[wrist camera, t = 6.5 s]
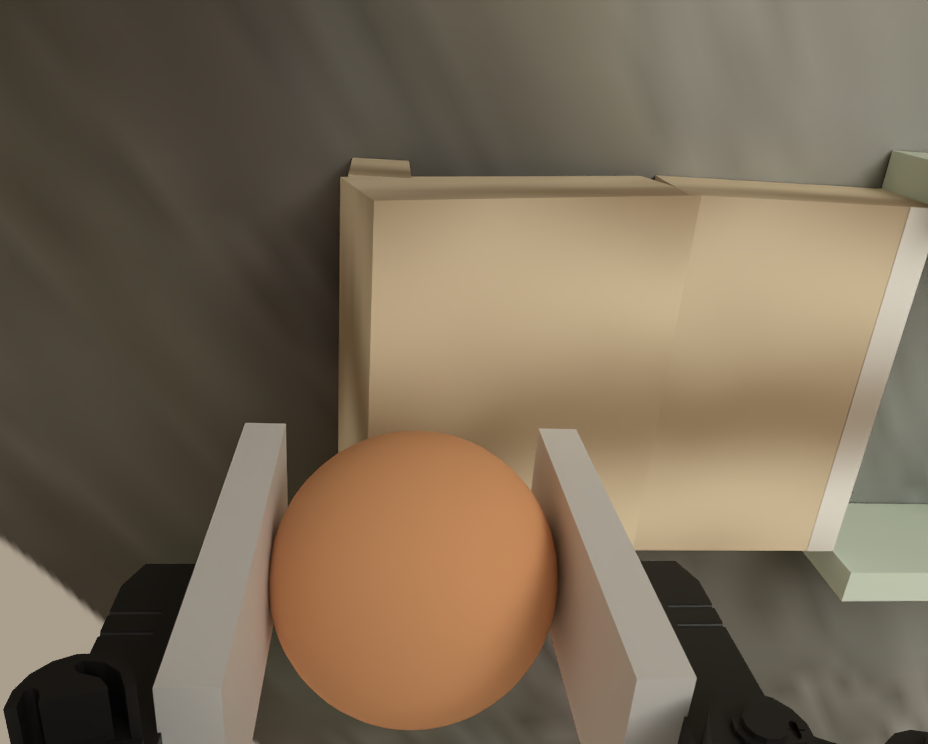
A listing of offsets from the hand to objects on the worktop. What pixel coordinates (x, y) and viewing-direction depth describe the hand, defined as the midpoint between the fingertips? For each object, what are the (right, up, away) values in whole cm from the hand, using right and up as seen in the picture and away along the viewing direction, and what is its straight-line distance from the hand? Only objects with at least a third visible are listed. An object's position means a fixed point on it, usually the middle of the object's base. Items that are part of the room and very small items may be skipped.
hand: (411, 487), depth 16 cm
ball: (0, 0, 0) cm, 1 cm away
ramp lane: (+5, +3, +7) cm, 9 cm away
